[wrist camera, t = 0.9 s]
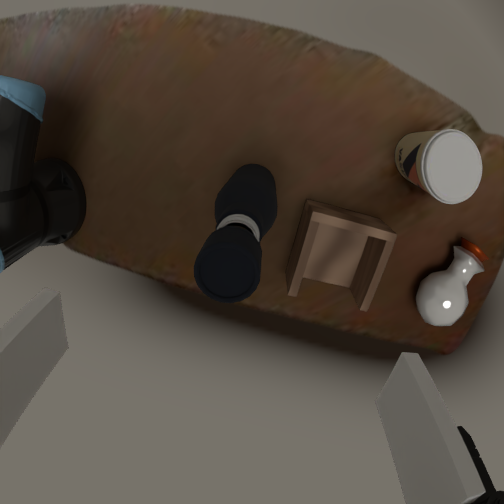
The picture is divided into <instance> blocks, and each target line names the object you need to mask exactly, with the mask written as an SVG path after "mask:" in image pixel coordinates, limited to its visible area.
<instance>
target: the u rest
mask: <svg viewBox="0 0 504 504" xmlns="http://www.w3.org/2000/svg"><path fill="white" fill-rule="evenodd" d="M396 237H397V234H396V233H395V232H394V231H393V230H392V229H391V228H390V227H388V226H387V225H386V224H385V223H384V222H383V221H382V220H381V219H378V218H375V217H371V216H368V215H365V214H361V213H358V212H354V211H350V210H347V209H343V208H340V207H336V206H332V205H329V204H325V203H321V202H317V201H313V200H310V199H306V202H305V206H304V209H303V213H302V217H301V220H300V224H299V227H298V231H297V234H296V238H295V241H294V245H293V248H292V252H291V255H290V259H289V262H288V265H287V269H286V281H287V291H288V295H290V296H294V297H296V296H297V293H298V290H299V287H300V284H301V281H302V278H303V277H304V278H308V279H313V280H317V281H322V282H326V283H331V284H335V285H340V286H344V287H349V288H350V290H351V292H352V294H353V296H354V298H355V301H356V303H357V305H358V307H359V309H360V310H363V311H367V310H368V308H369V306H370V303H371V301H372V299H373V296H374V294H375V291H376V289H377V287H378V284H379V282H380V279H381V277H382V274H383V272H384V269H385V266H386V264H387V261H388V259H389V256H390V253H391V251H392V248H393V245H394V242H395V240H396Z"/></svg>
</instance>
